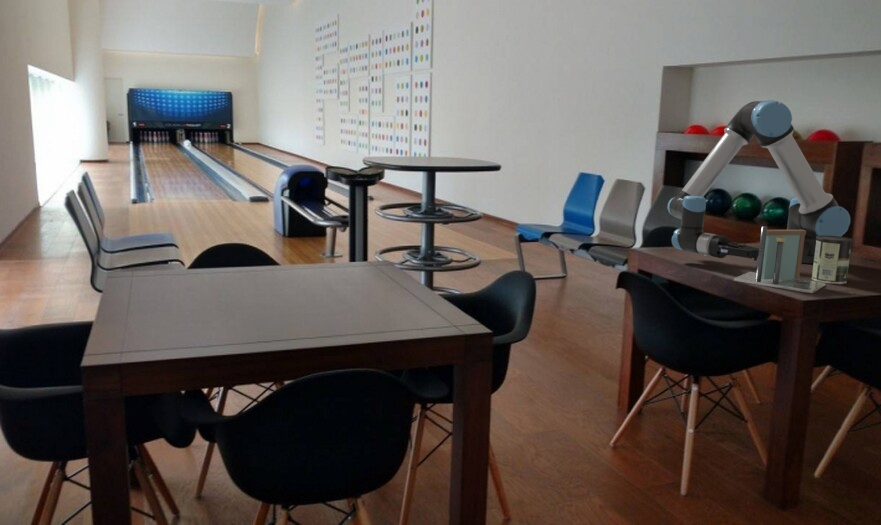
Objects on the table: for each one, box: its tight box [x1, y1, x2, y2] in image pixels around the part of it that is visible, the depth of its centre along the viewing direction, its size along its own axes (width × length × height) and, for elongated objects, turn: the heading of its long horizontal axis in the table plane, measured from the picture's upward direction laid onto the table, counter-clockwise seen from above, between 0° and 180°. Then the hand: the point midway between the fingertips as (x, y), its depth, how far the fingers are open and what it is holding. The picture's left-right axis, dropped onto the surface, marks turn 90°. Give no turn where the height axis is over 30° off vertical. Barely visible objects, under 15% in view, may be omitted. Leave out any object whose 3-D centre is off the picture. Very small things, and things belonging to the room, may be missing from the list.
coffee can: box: [811, 236, 854, 285], centre depth 237 cm, size 10×10×14 cm
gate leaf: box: [761, 229, 806, 279], centre depth 231 cm, size 13×2×15 cm, turn 103°
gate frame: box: [733, 226, 826, 294], centre depth 231 cm, size 15×23×18 cm, turn 50°
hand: (778, 257), depth 232 cm, fingers closed
